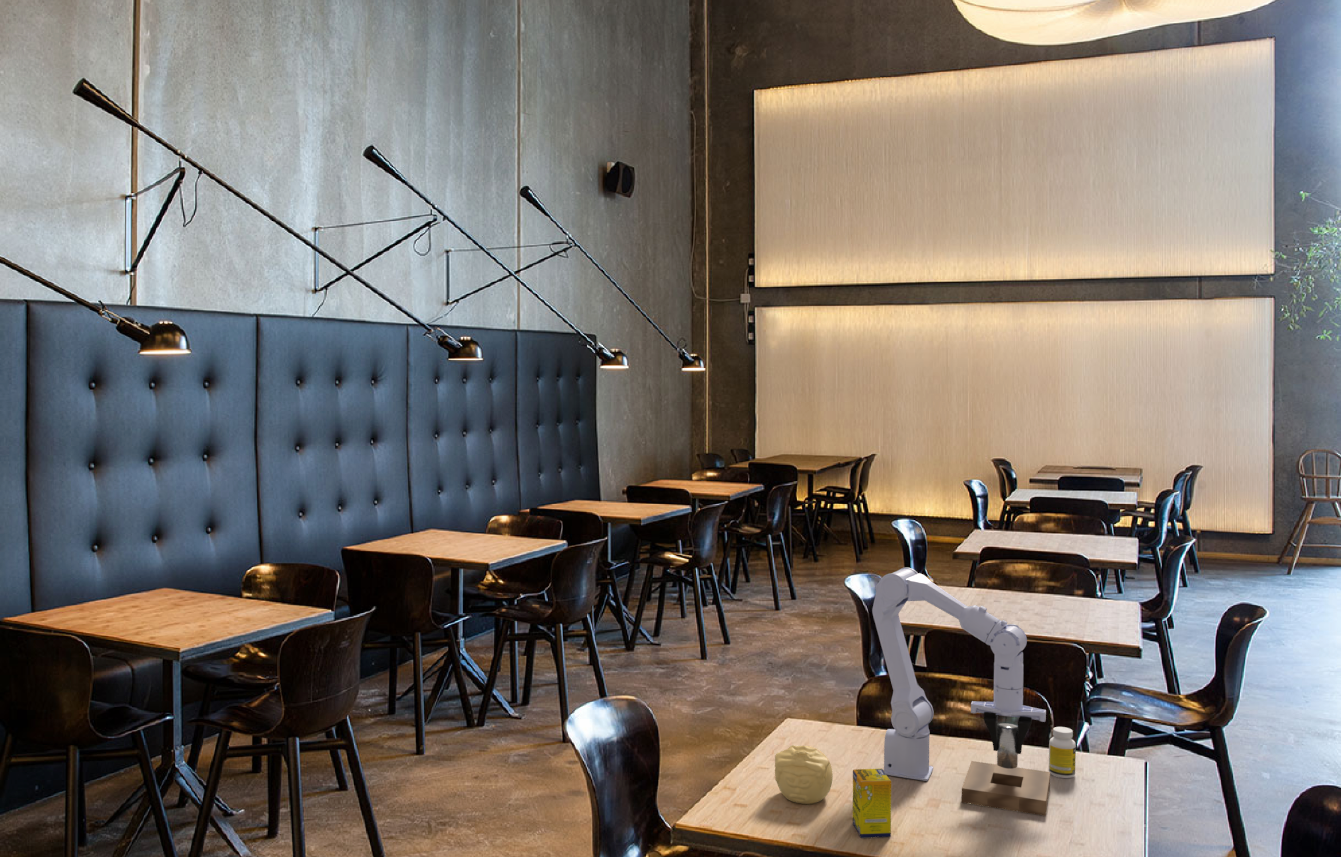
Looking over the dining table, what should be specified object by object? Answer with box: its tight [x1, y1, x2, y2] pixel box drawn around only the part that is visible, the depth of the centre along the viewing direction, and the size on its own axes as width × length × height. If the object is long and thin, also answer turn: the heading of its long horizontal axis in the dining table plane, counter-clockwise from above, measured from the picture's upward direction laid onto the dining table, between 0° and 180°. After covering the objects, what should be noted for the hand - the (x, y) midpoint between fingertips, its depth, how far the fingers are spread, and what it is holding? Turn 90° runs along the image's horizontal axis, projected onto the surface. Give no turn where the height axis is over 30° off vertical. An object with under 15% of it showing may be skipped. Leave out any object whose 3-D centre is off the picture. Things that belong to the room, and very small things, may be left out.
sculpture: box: [774, 744, 834, 805], centre depth 208 cm, size 12×12×11 cm
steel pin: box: [996, 722, 1019, 769], centre depth 209 cm, size 4×4×8 cm
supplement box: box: [852, 768, 892, 839], centre depth 192 cm, size 6×6×11 cm
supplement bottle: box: [1048, 726, 1077, 779], centre depth 220 cm, size 5×5×10 cm
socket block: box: [961, 760, 1051, 817], centre depth 210 cm, size 16×16×3 cm
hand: (1007, 750), depth 209 cm, fingers closed on steel pin, 4 cm apart
